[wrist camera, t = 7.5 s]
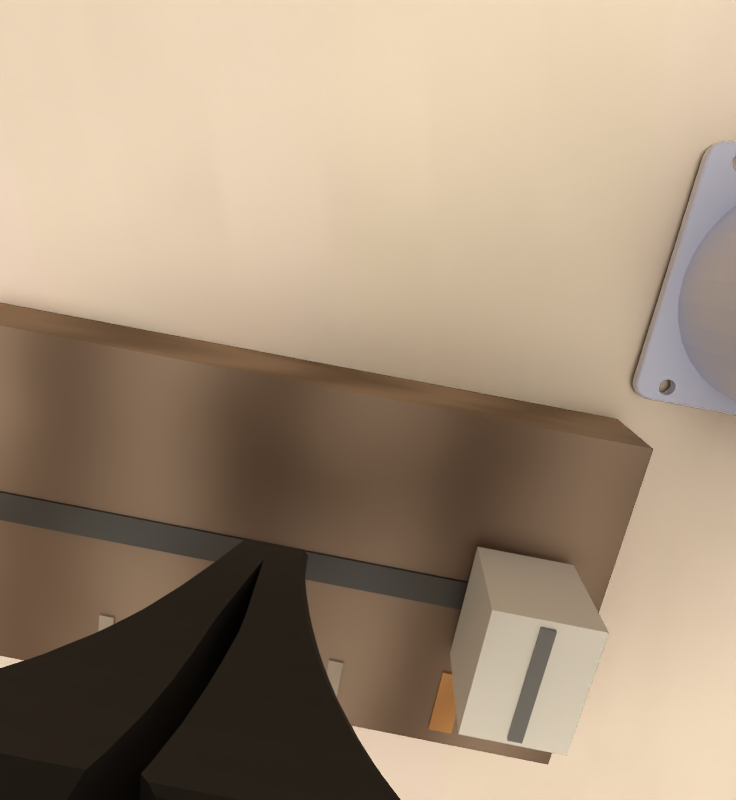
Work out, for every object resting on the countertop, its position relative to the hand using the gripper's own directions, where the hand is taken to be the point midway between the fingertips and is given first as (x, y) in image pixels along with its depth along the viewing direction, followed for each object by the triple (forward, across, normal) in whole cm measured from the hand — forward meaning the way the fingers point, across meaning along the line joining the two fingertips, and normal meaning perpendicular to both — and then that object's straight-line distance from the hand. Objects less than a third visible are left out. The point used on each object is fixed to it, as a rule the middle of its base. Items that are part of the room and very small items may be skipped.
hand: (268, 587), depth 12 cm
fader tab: (+6, -7, +3) cm, 10 cm away
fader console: (+9, +1, +3) cm, 10 cm away
